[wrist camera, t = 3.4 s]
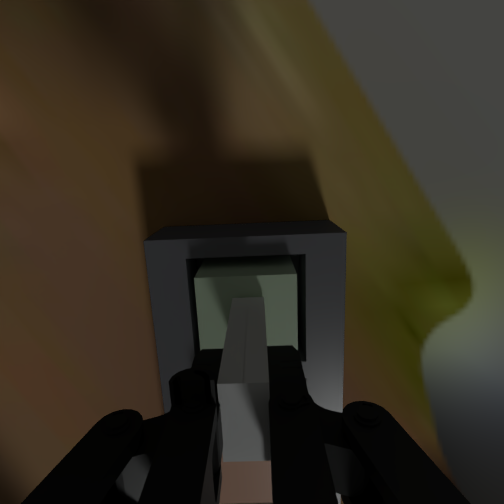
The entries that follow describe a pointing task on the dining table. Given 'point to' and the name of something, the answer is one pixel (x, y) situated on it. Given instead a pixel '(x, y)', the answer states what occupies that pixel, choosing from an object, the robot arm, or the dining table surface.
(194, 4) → the dining table surface
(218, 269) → the green button
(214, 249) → the button panel
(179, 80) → the dining table surface
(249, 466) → the terracotta button
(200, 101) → the dining table surface
